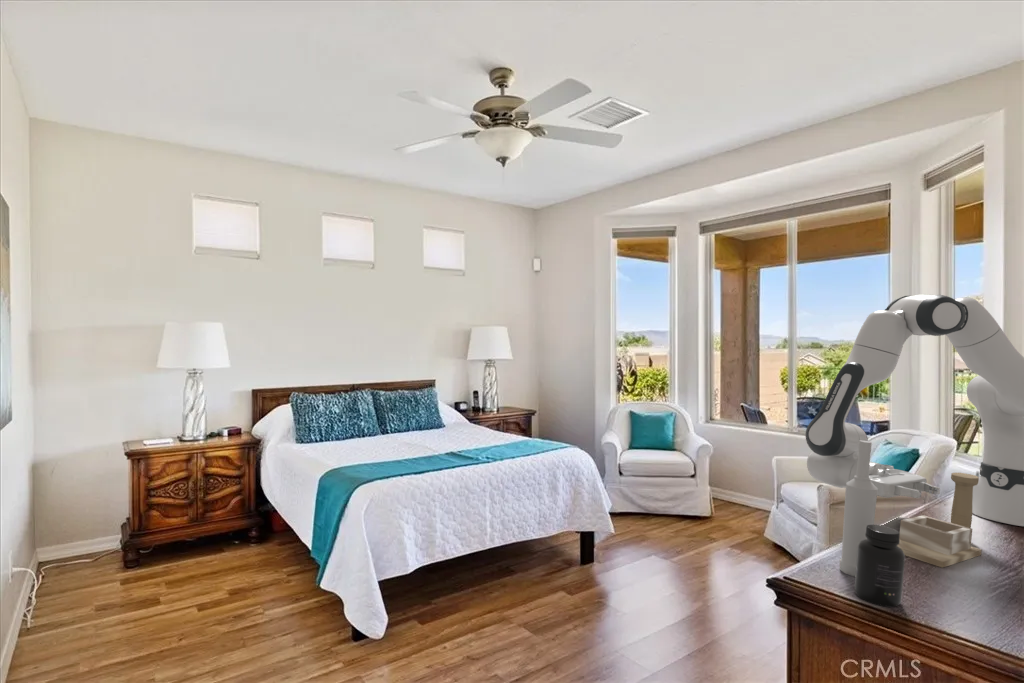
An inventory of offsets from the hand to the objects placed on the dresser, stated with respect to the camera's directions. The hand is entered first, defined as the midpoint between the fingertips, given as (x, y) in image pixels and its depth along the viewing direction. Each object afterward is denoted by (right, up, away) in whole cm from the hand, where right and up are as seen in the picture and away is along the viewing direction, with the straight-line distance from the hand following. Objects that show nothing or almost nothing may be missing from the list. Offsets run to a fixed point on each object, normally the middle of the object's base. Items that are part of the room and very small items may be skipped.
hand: (929, 493), depth 140 cm
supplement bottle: (-40, -7, -42) cm, 58 cm away
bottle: (-37, -7, -31) cm, 49 cm away
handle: (+3, -9, -6) cm, 11 cm away
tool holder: (-11, -8, -15) cm, 21 cm away
